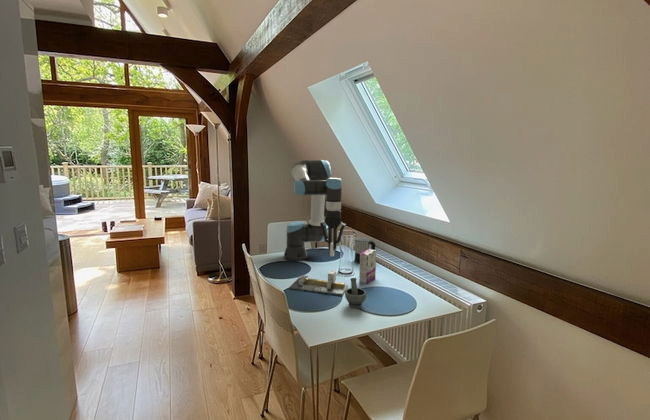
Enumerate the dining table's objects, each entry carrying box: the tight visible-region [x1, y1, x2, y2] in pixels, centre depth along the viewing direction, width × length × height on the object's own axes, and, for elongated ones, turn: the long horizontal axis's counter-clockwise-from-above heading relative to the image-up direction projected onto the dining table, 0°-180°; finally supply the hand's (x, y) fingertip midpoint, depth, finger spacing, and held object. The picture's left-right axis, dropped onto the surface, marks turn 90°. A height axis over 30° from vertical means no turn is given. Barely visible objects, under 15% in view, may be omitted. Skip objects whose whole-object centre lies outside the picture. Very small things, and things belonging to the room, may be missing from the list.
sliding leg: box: [326, 269, 337, 289], centre depth 180 cm, size 8×3×7 cm, turn 163°
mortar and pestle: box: [344, 277, 367, 310], centre depth 162 cm, size 11×9×12 cm
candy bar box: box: [358, 248, 377, 285], centre depth 192 cm, size 11×5×16 cm, turn 147°
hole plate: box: [289, 278, 349, 297], centre depth 182 cm, size 12×28×1 cm, turn 73°
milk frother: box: [354, 237, 376, 264], centre depth 229 cm, size 14×16×15 cm
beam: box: [297, 275, 346, 288], centre depth 182 cm, size 7×25×3 cm, turn 73°
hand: (332, 255), depth 176 cm, fingers closed
